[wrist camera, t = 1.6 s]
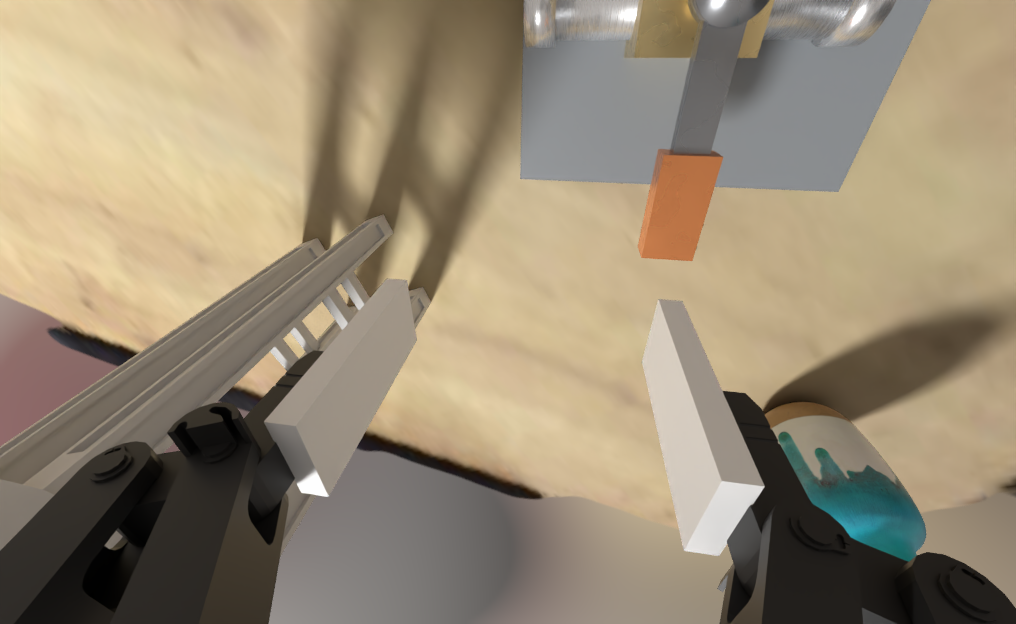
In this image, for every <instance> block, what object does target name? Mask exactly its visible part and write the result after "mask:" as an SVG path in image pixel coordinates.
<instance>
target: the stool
mask: <svg viewBox="0 0 1016 624" xmlns="http://www.w3.org/2000/svg"><path fill="white" fill-rule="evenodd" d="M392 234H393V231H392V229H391V227H390V225H389V224H388V222H387V220H386V218H385V216H384V214H383V215H380V216H377V217H374V218H371V219H368V220H366V221H364V222H363V223H362V224H360V225H359V226H358V227H357V228H355V229H354V230H353V231H351V232H350V233H349V234H347V235H346V236H345V237H344V238H342V239H341V240H340V241H338V242H337V243H336V244H334V245H333V246H332V247H331V248H329V249H328V250H327V251H326V250H325V249H324V247H323V246H322V244H321V243H320V241H319V239H318V238H316V239H313V240H310V241H307V242H304V243H302V244H300V245H299V246H297V247H296V248H294V249H293V250H291V251H290V252H288V253H287V254H285V255H284V256H282V257H281V258H280V259H278V260H277V261H275V262H274V263H272V264H271V265H269V266H268V267H266V268H265V269H263V270H262V271H260V272H259V273H257V274H256V275H254V276H253V277H251V278H250V279H248V280H247V281H245V282H244V283H242V284H241V285H239V286H238V287H236V288H235V289H233V290H232V291H231V292H229V293H228V294H226V295H225V296H223V297H222V298H220V299H219V300H217V301H216V302H214V303H213V304H211V305H210V306H208V307H207V308H205V309H204V310H202V311H201V312H199V313H198V314H196V315H195V316H193V317H192V318H190V319H189V320H187V321H186V322H185V323H183V324H182V325H180V326H179V327H177V328H176V329H174V330H173V331H171V332H170V333H168V334H167V335H165V336H164V337H162V338H161V339H159V340H158V341H156V342H155V343H153V344H152V345H150V346H149V347H147V348H146V349H144V350H143V351H141V352H140V353H138V354H137V355H136V356H134V357H133V358H131V359H130V360H128V361H127V362H125V363H124V364H122V365H121V366H119V367H118V368H116V369H115V370H114V371H112V372H110V373H109V374H107V375H106V376H104V377H103V378H101V379H100V380H98V381H97V382H95V383H94V384H92V385H91V386H89V387H88V388H87V389H85V390H84V391H82V392H81V393H79V394H78V395H76V396H75V397H73V398H72V399H70V400H69V401H67V402H66V403H64V404H63V405H62V406H60V407H58V408H57V409H55V410H54V411H52V412H51V413H49V414H48V415H46V416H45V417H44V418H42V419H41V420H39V421H38V422H36V423H35V424H33V425H32V426H30V427H29V428H27V429H26V430H24V431H23V432H21V433H20V434H18V435H17V436H15V437H14V438H12V439H11V440H9V441H8V442H6V443H5V444H3V445H2V446H0V550H1V549H2V548H3V547H4V546H5V545H6V544H7V543H8V542H9V541H10V540H11V539H12V538H13V537H14V536H15V535H16V534H17V533H18V532H19V531H20V530H21V529H22V528H23V527H24V526H25V525H26V524H27V523H28V522H29V521H30V520H31V519H32V518H33V517H34V516H35V515H36V514H37V512H38V511H39V510H40V509H41V508H42V507H43V506H44V505H45V504H46V503H47V502H48V501H49V500H50V499H51V498H52V497H53V496H54V495H55V494H56V493H57V492H58V491H59V490H60V489H61V488H62V487H63V486H64V485H65V484H66V483H67V482H68V481H69V480H70V479H71V478H72V477H73V476H74V475H75V473H76V472H77V471H78V470H79V469H80V468H82V467H83V466H84V465H85V464H86V463H87V462H89V461H90V460H91V459H92V458H94V457H95V456H97V455H99V454H101V453H102V452H104V451H106V450H107V449H110V448H112V447H115V446H118V445H120V444H123V443H128V442H134V441H138V442H146V443H147V444H148V445H149V446H150V447H151V448H152V449H153V451H154V452H155V453H156V454H163V453H164V452H165V451H166V450H167V449H168V448H169V447H170V446H171V445H172V444H173V443H174V442H173V440H172V439H171V438H170V436H169V435H168V434H167V432H168V431H169V429H170V428H171V427H172V426H173V424H174V423H175V422H177V421H178V420H179V419H180V418H182V417H183V416H184V415H186V414H187V413H189V412H191V411H193V410H195V409H197V408H199V407H202V406H205V405H208V404H212V403H216V402H217V401H218V400H219V399H220V398H221V397H222V396H223V395H224V394H225V393H226V392H228V391H229V390H230V389H231V388H232V387H233V386H234V385H235V384H236V383H237V382H238V381H239V380H240V379H241V378H242V377H243V376H244V375H245V374H246V373H247V372H248V371H250V370H251V369H252V368H253V367H254V366H255V365H256V364H257V363H258V362H259V361H260V360H261V359H262V358H263V357H264V356H265V355H266V354H267V353H268V352H269V351H270V352H271V353H272V354H273V355H274V356H275V358H276V359H277V360H278V361H279V362H280V363H281V365H282V366H283V367H284V368H285V369H286V371H288V370H289V369H290V368H291V367H292V366H293V365H294V364H295V362H296V361H297V360H299V358H298V357H297V356H296V355H295V353H294V352H293V351H292V350H291V349H290V347H289V346H288V345H287V344H286V342H285V341H284V340H283V338H284V337H285V336H286V335H287V334H288V333H289V332H290V333H291V334H292V335H293V336H294V338H295V339H296V340H297V341H298V343H299V344H300V345H301V346H302V348H303V349H304V350H305V351H306V352H305V353H304V354H303V355H302V356H301V358H302V357H304V356H305V355H307V354H308V353H310V352H312V351H313V350H316V351H325V350H326V349H327V348H328V346H329V345H330V344H331V343H332V342H333V341H334V339H335V338H336V337H337V336H338V335H339V334H340V332H341V331H342V330H343V329H344V328H345V327H346V325H347V324H348V323H349V322H350V321H351V320H352V318H353V317H354V316H355V315H356V314H357V313H358V311H359V310H360V309H361V308H362V307H363V306H364V304H365V303H366V302H367V301H368V300H369V299H370V297H369V296H368V294H367V292H366V291H365V289H364V288H363V286H362V285H361V283H360V281H359V280H358V278H357V277H356V275H355V273H354V272H353V271H354V270H355V269H356V268H357V267H358V266H359V265H360V264H362V263H363V262H364V261H365V260H366V259H367V258H368V257H369V256H370V255H371V254H372V253H373V252H374V251H375V250H376V249H377V248H378V247H379V246H380V245H381V244H382V243H383V242H385V241H386V240H387V239H388V238H389V237H390V236H391V235H392ZM340 284H342V286H343V287H344V289H345V290H346V292H347V293H348V295H349V297H350V298H351V300H352V301H353V303H354V304H355V306H352V307H348V306H347V304H346V303H345V301H344V300H343V298H342V297H341V295H340V294H339V292H338V291H337V289H336V287H337V286H338V285H340ZM409 296H410V302H411V308H412V314H413V320H414V326H415V329H416V327H417V325H418V323H419V322H420V320H421V318H422V317H423V315H424V313H425V312H426V310H427V308H428V307H429V305H430V303H431V301H430V299H429V297H428V295H427V294H426V292H425V290H424V288H423V287H421V288H417V289H413V290H410V291H409ZM321 302H323V303H324V305H325V306H326V308H327V309H328V310H329V312H330V313H331V315H332V316H333V317H334V319H335V321H334V322H333V323H332V324H331V325H330V326H329V327H328V328H327V329H326V330H325V331H324V333H323V334H322V335H321V336H320V337H319V338H318V339H317V340H316V339H315V338H314V336H313V335H312V334H311V332H310V331H309V330H308V328H307V327H306V326H305V324H304V323H303V322H302V320H303V319H304V318H305V317H306V316H307V315H308V314H309V313H310V312H311V311H312V310H313V309H314V308H315V307H317V306H318V305H319V304H320V303H321ZM301 358H300V359H301ZM285 375H286V374H285ZM285 375H284V376H285ZM275 386H276V385H275ZM275 386H274V387H275ZM286 494H287V496H288V500H289V507H288V513H287V519H286V524H285V530H284V536H283V542H282V548H281V554H282V553H283V551H284V549H285V548H286V546H287V544H288V542H289V541H290V539H291V537H292V536H293V534H294V532H295V531H296V529H297V527H298V526H299V524H300V522H301V521H302V519H303V517H304V515H305V514H306V512H307V510H308V509H309V507H310V505H311V504H312V502H313V500H314V499H315V497H316V495H313V494H307V493H301V491H300V489H299V487H298V486H297V484H296V482H295V480H294V481H293V482H292V484H291V485H290V487H289V488H288V490H287V491H286ZM122 537H123V536H122V535H120V534H119V533H118V532H117V531H115V533H114V534H113V535H112V537H111V538H110V539H109V540H108V542H107V543H106V544H105V546H106V547H107V548H108V549H111V548H113V547H114V546H115V545H116V544H117V543H118V542H119V541H120V540H121V538H122ZM281 554H280V556H281Z"/></svg>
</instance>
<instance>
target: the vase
mask: <svg viewBox="0 0 1016 624" xmlns="http://www.w3.org/2000/svg"><path fill="white" fill-rule="evenodd" d="M765 417H766V419H767V420H768V422H769V424H770V429H772V430H773V432H774V434H775V435H776V437H777V439H778V444H780V445H781V447H782V449H783V450H784V452H785V454H786V456H787V458H788V460H789V462H790V464H791V465H792V467H793V469H794V471H795V473H796V475H797V477H798V479H799V480H800V482H801V484H802V486H803V488H804V490H805V492H806V494H807V495H808V497H809V499H810V501H811V502H812V504H814V505H815V506H817V507H819V508H820V509H822V510H824V511H825V512H827V513H829V514H830V515H831V516H832V517H833V518H834V519H835V520H837V521H838V522H839V523H840V524H841V525H842V526H843V527H844V529H845V530H846V531H847V533H848V534H849V536H850V537H851V538H853V539H855V540H857V541H859V542H861V543H864V544H866V545H869V546H871V547H873V548H876V549H878V550H881V551H883V552H886V553H888V554H891V555H893V556H896V557H898V558H901V559H903V560H906V561H908V562H909V561H910V560H912V559H913V558H914V557H915V556H917V555H916V551H917V550H918V549H920V548H921V547H922V545H923V544H924V541H925V538H926V528H925V523H924V521H923V519H922V516H921V514H920V512H919V510H918V508H917V507H916V505H915V503H914V502H913V500H912V498H911V497H910V495H909V494H908V492H907V491H906V489H905V488H904V486H903V485H902V483H901V482H900V481H899V479H898V478H897V476H896V475H895V474H894V472H893V471H892V470H891V468H890V467H889V466H888V464H887V463H886V462H885V460H884V459H883V458H882V457H881V455H880V454H879V453H878V452H877V450H876V449H875V448H874V447H873V446H872V444H871V443H870V442H869V441H868V440H867V439H866V438H865V436H864V435H863V434H862V433H861V432H860V431H859V430H858V429H857V428H856V427H855V426H854V425H853V424H852V423H851V422H850V421H849V420H848V419H847V418H846V417H844V416H843V415H842V414H840V413H839V412H837V411H835V410H833V409H831V408H829V407H827V406H824V405H821V404H817V403H811V402H794V403H789V404H785V405H781V406H779V407H776V408H774V409H772V410H771V411H769V412H768V413H766V414H765Z"/></svg>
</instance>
